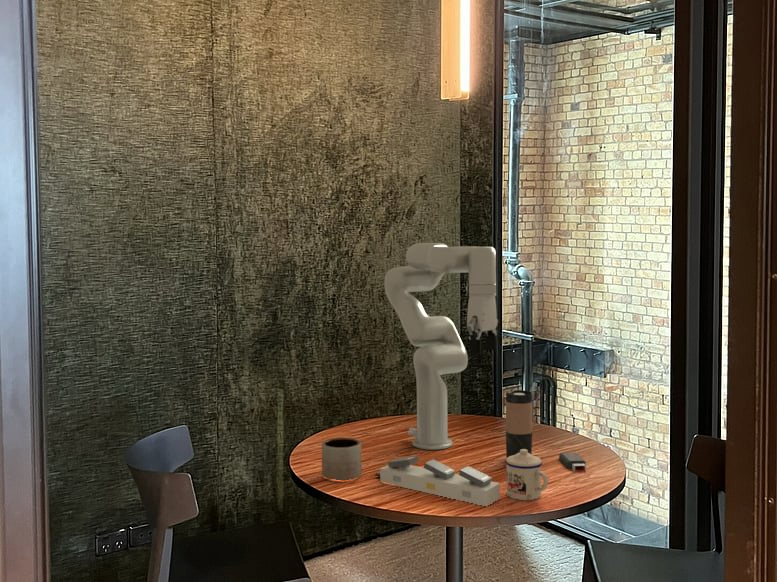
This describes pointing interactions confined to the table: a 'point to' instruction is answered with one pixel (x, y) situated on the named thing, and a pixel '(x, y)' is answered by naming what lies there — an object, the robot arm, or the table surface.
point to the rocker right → (475, 476)
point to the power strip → (440, 484)
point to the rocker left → (403, 461)
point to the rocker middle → (439, 469)
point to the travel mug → (518, 422)
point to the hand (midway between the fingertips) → (483, 351)
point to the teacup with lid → (525, 476)
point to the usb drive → (573, 461)
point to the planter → (341, 458)
